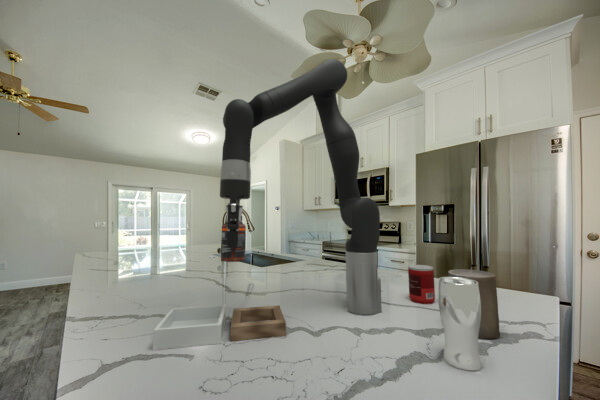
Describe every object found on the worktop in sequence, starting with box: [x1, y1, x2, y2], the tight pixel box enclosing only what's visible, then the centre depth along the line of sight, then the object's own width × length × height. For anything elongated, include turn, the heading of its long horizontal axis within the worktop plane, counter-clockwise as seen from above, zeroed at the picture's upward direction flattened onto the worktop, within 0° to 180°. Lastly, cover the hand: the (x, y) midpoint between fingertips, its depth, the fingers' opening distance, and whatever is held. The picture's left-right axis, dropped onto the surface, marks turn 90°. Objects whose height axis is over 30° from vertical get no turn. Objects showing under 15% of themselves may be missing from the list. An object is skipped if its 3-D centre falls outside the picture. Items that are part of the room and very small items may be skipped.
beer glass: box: [437, 276, 482, 372], centre depth 49 cm, size 7×7×15 cm
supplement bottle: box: [220, 215, 247, 263], centre depth 65 cm, size 6×6×11 cm
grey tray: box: [152, 304, 227, 351], centre depth 62 cm, size 14×14×4 cm
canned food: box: [407, 264, 436, 305], centre depth 86 cm, size 8×8×11 cm
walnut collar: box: [230, 305, 287, 342], centre depth 65 cm, size 12×12×3 cm
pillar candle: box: [448, 267, 501, 340], centre depth 63 cm, size 10×10×15 cm
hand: (233, 246), depth 65 cm, fingers closed on supplement bottle, 6 cm apart
